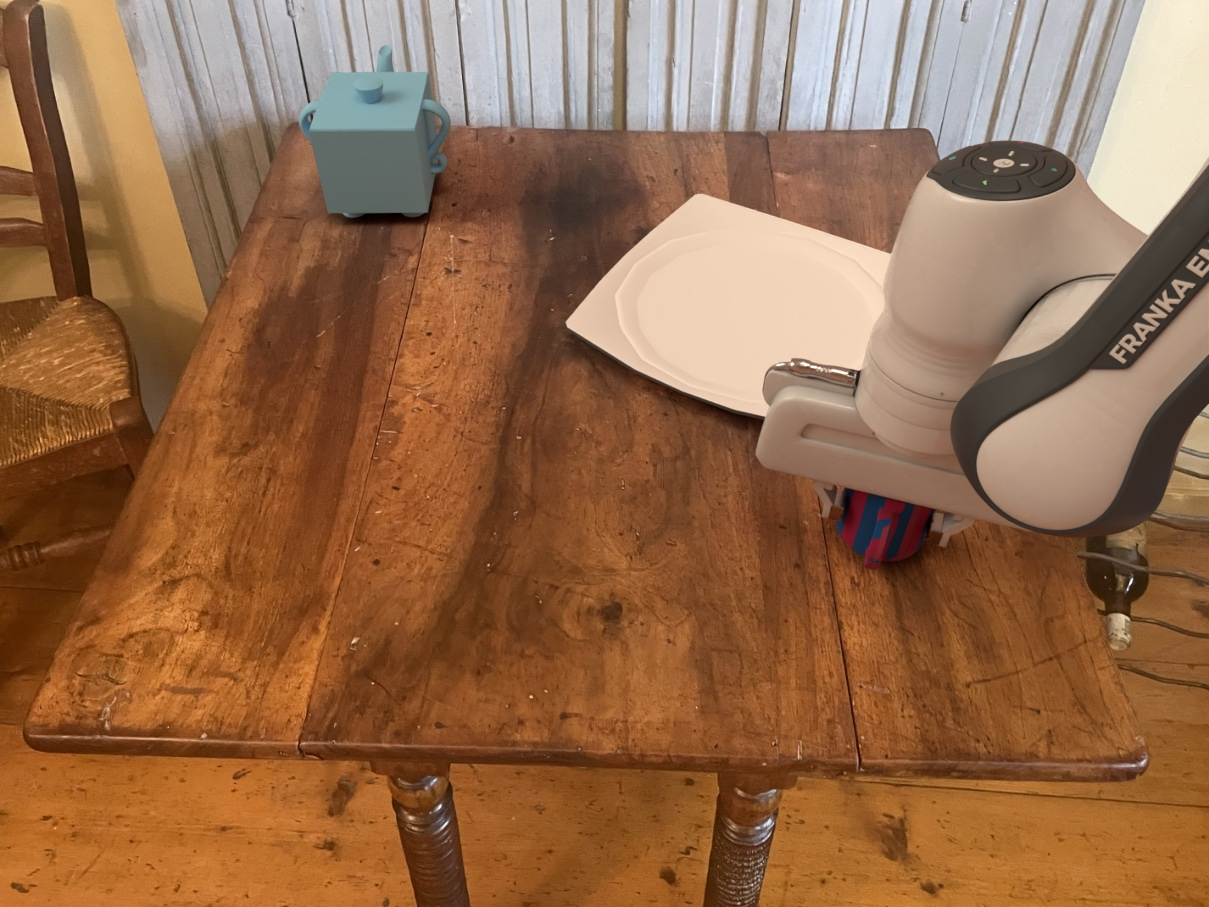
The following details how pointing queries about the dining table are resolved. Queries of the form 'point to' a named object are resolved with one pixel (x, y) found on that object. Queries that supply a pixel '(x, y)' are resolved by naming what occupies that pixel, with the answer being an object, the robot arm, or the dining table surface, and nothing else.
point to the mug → (882, 527)
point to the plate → (733, 302)
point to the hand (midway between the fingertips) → (883, 526)
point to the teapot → (377, 140)
